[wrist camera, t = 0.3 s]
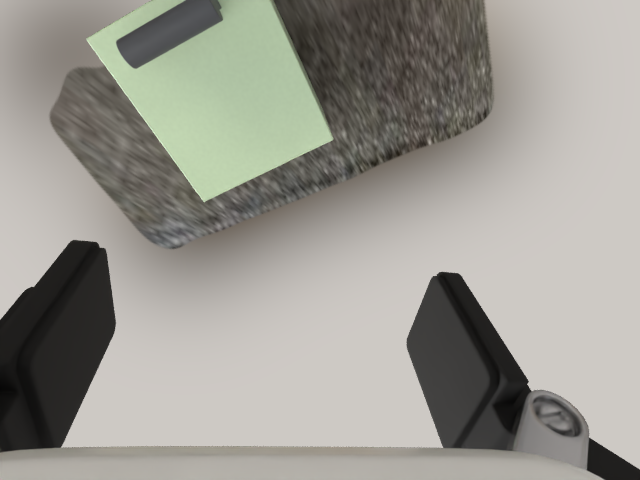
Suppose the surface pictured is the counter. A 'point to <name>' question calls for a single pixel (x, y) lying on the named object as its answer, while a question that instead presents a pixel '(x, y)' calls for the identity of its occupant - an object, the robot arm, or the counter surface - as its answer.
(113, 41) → the lid
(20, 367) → the robot arm
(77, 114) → the counter surface
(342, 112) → the counter surface
